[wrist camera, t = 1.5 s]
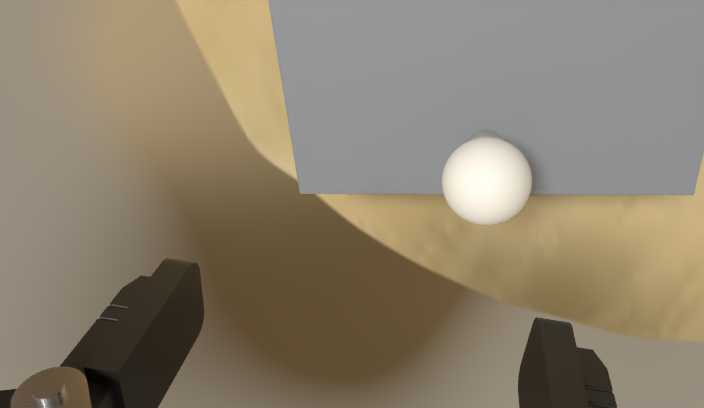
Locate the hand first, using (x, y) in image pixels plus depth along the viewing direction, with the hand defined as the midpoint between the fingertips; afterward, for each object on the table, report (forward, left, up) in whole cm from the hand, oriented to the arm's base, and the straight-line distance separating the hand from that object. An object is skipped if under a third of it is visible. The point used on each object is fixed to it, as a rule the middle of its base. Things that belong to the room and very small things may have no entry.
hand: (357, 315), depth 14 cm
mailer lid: (-3, -2, -18) cm, 19 cm away
